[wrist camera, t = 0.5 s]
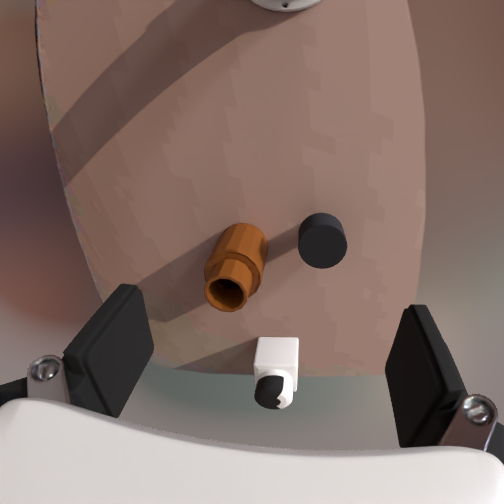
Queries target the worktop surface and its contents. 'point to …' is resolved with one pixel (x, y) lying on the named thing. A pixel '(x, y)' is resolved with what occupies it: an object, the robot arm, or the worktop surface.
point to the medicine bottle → (275, 371)
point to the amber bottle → (235, 267)
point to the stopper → (321, 241)
